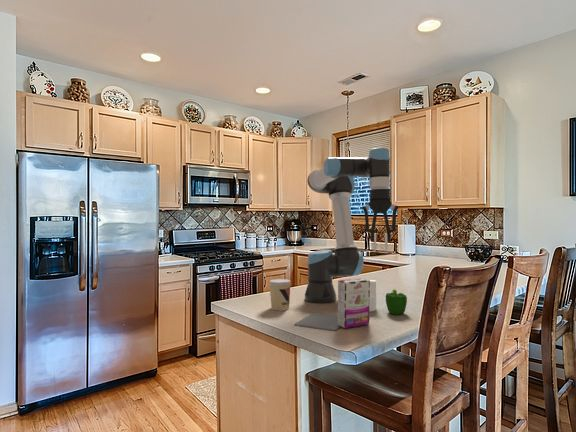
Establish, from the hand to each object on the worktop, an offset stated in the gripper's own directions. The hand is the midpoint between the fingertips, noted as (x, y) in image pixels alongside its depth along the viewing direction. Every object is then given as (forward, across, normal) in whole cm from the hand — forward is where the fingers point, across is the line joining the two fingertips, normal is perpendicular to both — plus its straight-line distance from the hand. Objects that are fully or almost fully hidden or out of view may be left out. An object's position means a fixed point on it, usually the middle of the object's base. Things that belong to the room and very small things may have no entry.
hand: (380, 250), depth 134 cm
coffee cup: (+27, +42, -11) cm, 52 cm away
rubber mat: (+27, +22, +6) cm, 35 cm away
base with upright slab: (+27, +6, -16) cm, 32 cm away
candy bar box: (+27, +11, +9) cm, 30 cm away
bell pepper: (+27, -6, -11) cm, 29 cm away
